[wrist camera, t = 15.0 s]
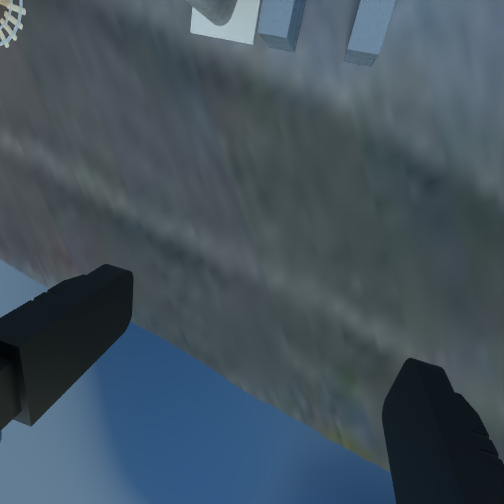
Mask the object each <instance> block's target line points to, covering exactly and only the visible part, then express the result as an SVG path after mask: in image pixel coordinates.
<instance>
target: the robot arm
mask: <svg viewBox="0 0 504 504" xmlns="http://www.w3.org/2000/svg"><path fill="white" fill-rule="evenodd" d="M132 301H133V274H132V272H131V271H128V270H125V269H122V268H119V267H115V266H112V265H109V264H104V265H102V266H100V267H99V268H97V269H95V270H94V271H92V272H91V273H89V274H87V275H81V276H77V277H74V278H71V279H67V280H64V281H62V282H61V283H59V284H57V285H56V286H54V287H52V288H50V289H49V290H48V291H47V293H46V292H44V293H42V294H40V295H39V296H37V297H35V298H34V300H33V301H31V300H30V301H28V302H27V303H25V304H23V305H22V306H20V307H19V308H17V309H15V310H13V311H11V312H10V313H8V314H6V315H4V316H3V317H1V318H0V442H1V437H2V432H1V430H2V429H3V428H4V427H5V426H6V425H7V424H8V423H9V422H10V421H11V420H12V419H14V420H16V421H19V422H21V423H24V424H26V425H29V426H32V425H33V424H34V423H35V422H36V421H37V420H38V419H39V418H40V417H41V416H42V415H43V414H44V413H45V412H46V411H47V410H48V409H49V408H50V407H51V406H52V405H53V404H54V403H55V402H56V401H57V400H58V399H59V398H60V397H61V396H62V395H63V394H64V393H65V392H66V391H67V390H68V389H69V388H70V387H71V386H72V385H73V384H74V383H75V382H76V381H77V380H78V379H79V378H80V377H81V376H82V375H83V374H84V372H86V371H87V370H88V369H89V368H90V367H91V366H92V364H93V363H95V362H96V361H97V360H98V358H100V356H102V354H104V353H105V351H106V350H107V349H108V348H109V347H110V346H111V345H112V344H113V343H114V342H115V341H116V340H117V339H118V338H119V337H120V336H121V335H122V334H123V333H124V332H125V331H126V329H127V327H128V325H129V323H130V320H131V316H132ZM382 423H383V429H384V435H385V441H386V446H387V452H388V458H389V464H390V470H391V476H392V481H393V488H394V493H395V499H396V504H504V464H503V462H502V460H501V459H498V455H499V454H498V452H497V450H496V448H495V446H494V444H493V442H492V440H489V435H488V433H487V431H486V429H485V427H484V425H483V423H482V421H481V419H480V417H479V415H478V414H477V412H476V411H475V410H474V409H473V408H472V407H471V405H470V404H469V403H468V402H467V401H466V400H465V399H464V397H463V396H462V395H461V394H458V393H455V392H454V390H453V388H452V386H451V384H450V382H449V379H448V377H447V375H446V373H445V371H444V369H443V368H441V367H439V366H436V365H432V364H429V363H426V362H423V361H419V360H416V359H413V358H409V359H407V360H406V361H405V363H404V364H403V366H402V368H401V370H400V372H399V374H398V376H397V378H396V379H395V381H394V383H393V385H392V387H391V389H390V391H389V393H388V395H387V396H386V399H385V401H384V405H383V411H382Z"/></svg>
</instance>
